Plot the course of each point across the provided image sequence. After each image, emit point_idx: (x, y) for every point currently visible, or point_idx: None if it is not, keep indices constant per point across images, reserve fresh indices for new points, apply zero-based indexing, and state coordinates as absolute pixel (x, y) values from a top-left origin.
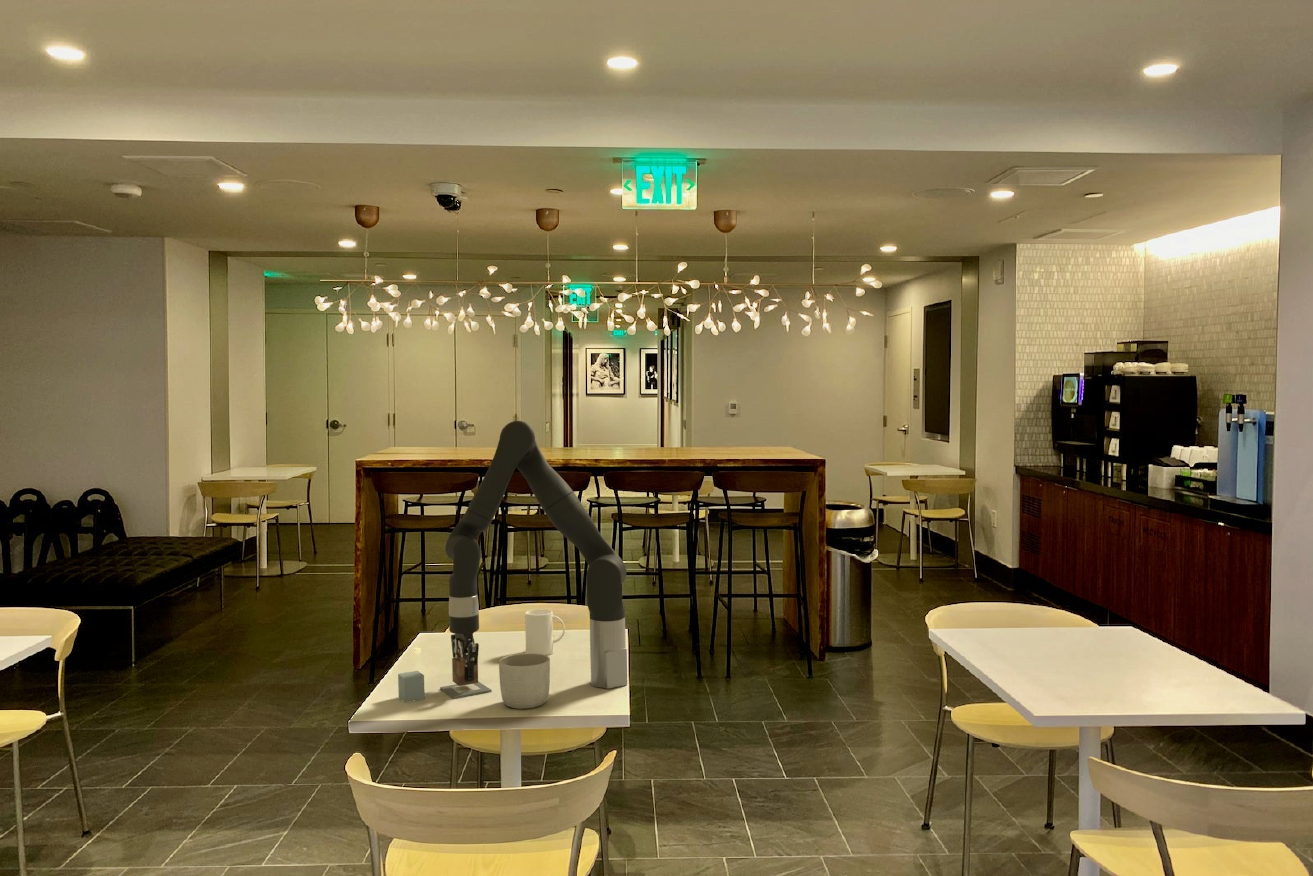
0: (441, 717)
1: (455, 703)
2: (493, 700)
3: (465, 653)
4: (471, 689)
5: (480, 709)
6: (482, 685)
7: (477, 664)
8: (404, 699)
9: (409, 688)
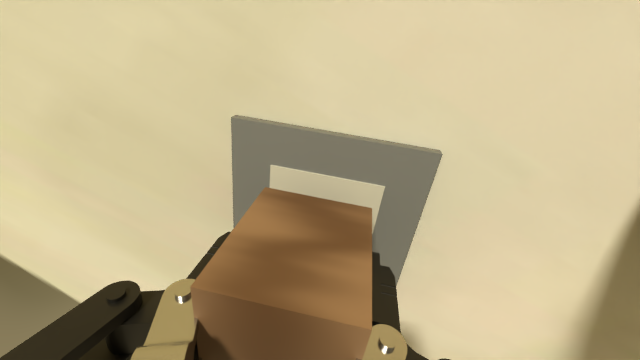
0: None
1: (441, 320)
2: (568, 219)
3: (193, 354)
4: None
5: (608, 315)
6: (333, 145)
7: (371, 294)
8: None
9: None
